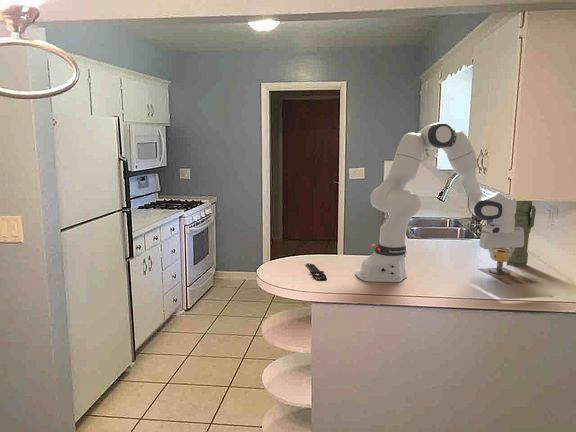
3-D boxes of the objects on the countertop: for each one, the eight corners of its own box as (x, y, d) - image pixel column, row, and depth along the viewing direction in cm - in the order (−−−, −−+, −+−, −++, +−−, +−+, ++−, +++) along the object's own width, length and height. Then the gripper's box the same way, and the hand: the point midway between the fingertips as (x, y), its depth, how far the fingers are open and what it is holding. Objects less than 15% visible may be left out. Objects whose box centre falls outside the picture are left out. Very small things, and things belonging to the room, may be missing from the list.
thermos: (525, 271, 224) (533, 196, 217) (500, 265, 232) (507, 193, 226) (533, 267, 229) (541, 195, 223) (508, 262, 238) (515, 192, 232)
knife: (304, 264, 231) (304, 261, 231) (318, 264, 232) (318, 261, 232) (313, 281, 206) (313, 278, 205) (328, 281, 206) (328, 278, 206)
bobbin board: (507, 287, 200) (509, 270, 199) (477, 272, 221) (478, 256, 220) (537, 285, 203) (538, 268, 201) (504, 270, 224) (505, 255, 223)
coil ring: (498, 262, 212) (499, 253, 211) (489, 258, 218) (490, 249, 218) (511, 261, 213) (512, 252, 213) (502, 257, 220) (503, 248, 219)
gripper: (519, 225, 218) (516, 254, 221) (478, 226, 214) (476, 256, 217) (529, 228, 212) (525, 258, 215) (487, 229, 208) (484, 260, 211)
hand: (500, 257), depth 216 cm, fingers closed on coil ring, 7 cm apart
